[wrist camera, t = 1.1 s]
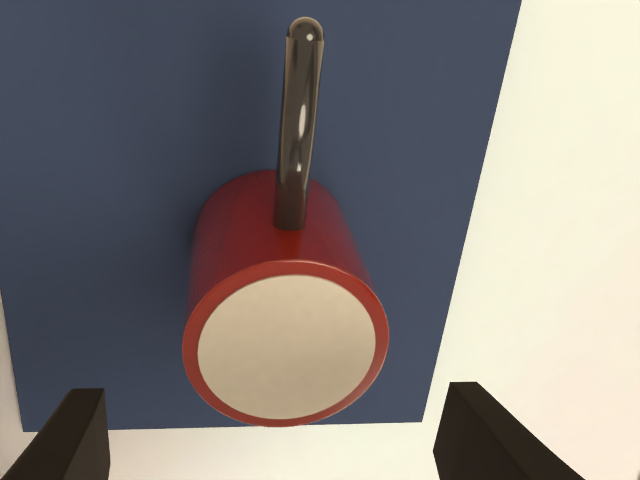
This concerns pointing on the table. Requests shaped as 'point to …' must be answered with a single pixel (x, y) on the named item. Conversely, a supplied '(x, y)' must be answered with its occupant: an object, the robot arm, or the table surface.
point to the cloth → (225, 177)
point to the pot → (282, 279)
